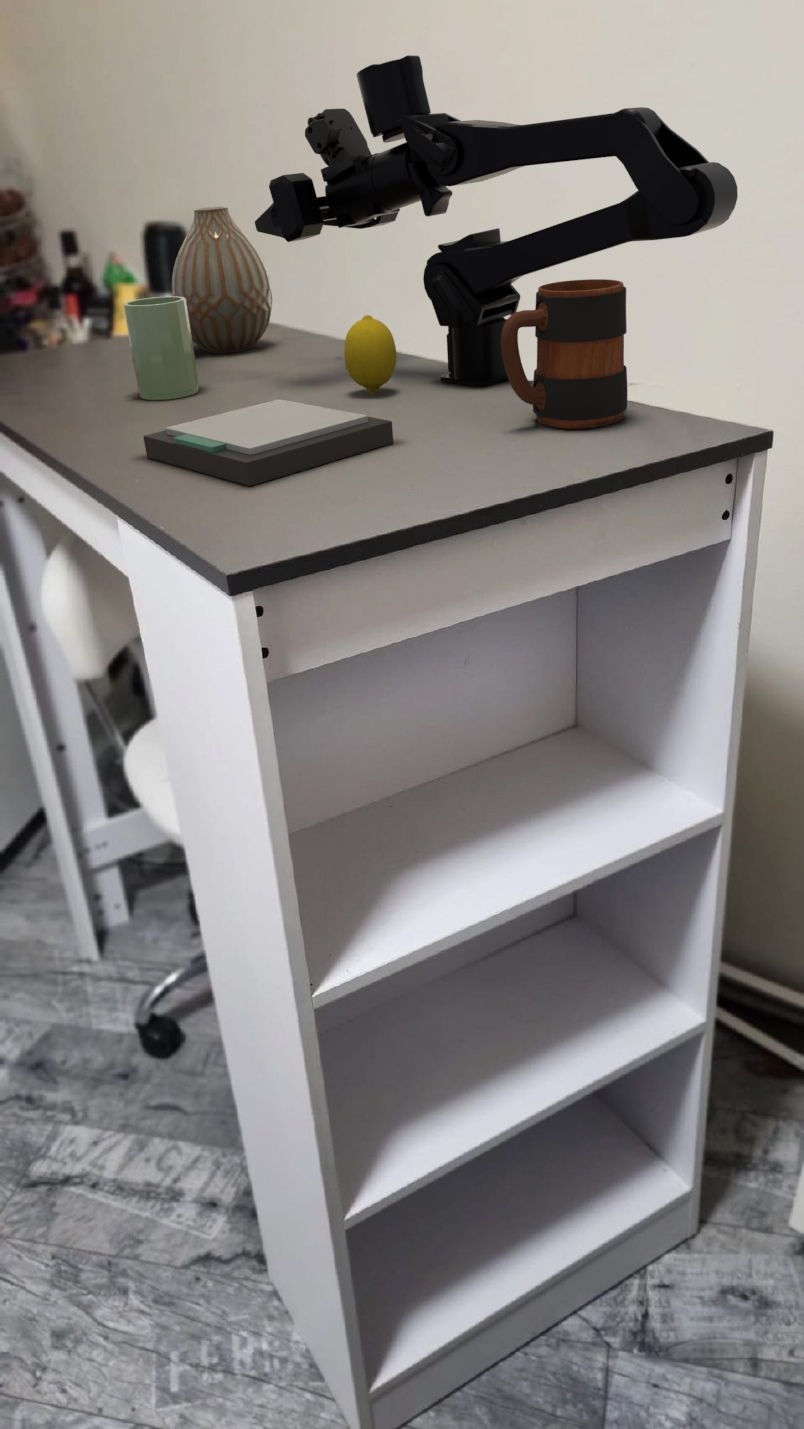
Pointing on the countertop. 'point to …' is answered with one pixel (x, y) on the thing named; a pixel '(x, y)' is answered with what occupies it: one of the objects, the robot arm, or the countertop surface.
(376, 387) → the lemon
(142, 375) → the cup
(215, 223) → the vase
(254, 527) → the countertop surface
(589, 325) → the mug
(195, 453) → the scale
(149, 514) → the countertop surface
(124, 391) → the countertop surface
